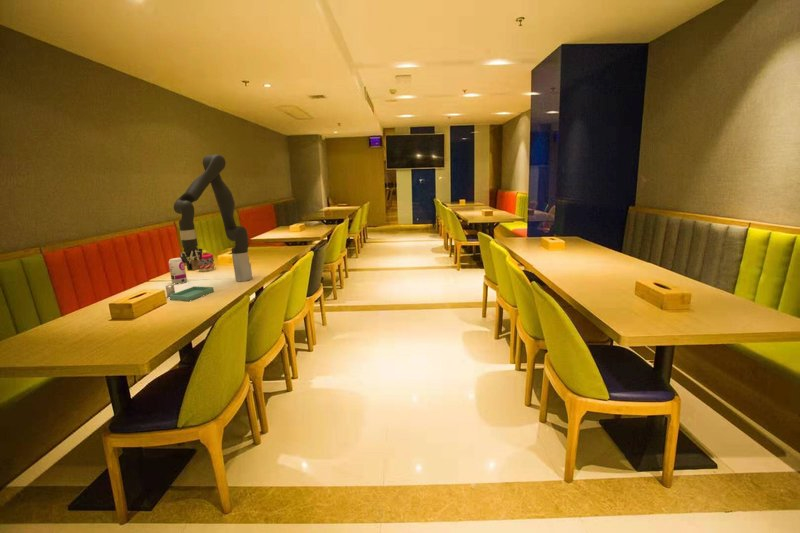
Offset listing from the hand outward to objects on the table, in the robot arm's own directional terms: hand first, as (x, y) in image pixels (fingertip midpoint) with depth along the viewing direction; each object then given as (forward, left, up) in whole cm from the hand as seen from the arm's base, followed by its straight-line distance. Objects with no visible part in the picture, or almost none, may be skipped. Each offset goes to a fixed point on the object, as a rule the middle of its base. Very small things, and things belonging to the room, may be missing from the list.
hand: (193, 268), depth 222 cm
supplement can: (-18, -31, -14) cm, 39 cm away
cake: (-48, -38, -14) cm, 63 cm away
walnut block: (0, 0, 0) cm, 0 cm away
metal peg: (+7, -11, -14) cm, 19 cm away
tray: (+4, 0, -14) cm, 15 cm away
